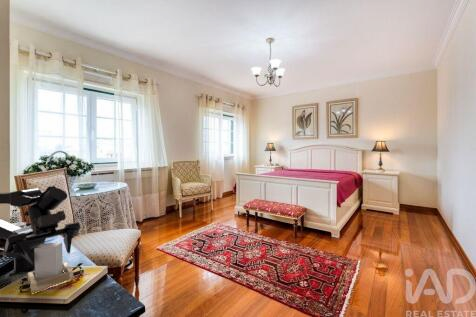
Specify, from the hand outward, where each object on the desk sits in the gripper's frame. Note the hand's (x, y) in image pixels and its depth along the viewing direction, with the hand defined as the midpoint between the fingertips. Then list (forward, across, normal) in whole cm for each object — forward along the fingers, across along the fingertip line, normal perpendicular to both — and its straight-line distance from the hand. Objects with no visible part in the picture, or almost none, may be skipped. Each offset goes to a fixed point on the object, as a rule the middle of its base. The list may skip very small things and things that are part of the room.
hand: (52, 258), depth 71 cm
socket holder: (+5, 0, +7) cm, 8 cm away
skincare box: (+5, 0, +7) cm, 8 cm away
